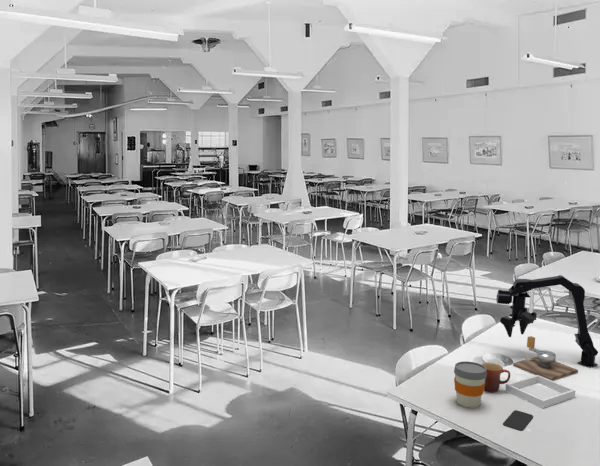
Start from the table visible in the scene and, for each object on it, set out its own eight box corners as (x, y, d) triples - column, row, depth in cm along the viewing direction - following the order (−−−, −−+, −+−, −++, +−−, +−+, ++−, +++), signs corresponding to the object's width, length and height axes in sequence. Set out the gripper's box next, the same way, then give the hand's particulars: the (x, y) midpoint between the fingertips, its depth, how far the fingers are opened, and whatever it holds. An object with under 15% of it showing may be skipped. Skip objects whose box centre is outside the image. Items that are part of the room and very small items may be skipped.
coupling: (522, 353, 263) (523, 337, 262) (533, 351, 267) (535, 335, 266) (547, 363, 251) (548, 347, 249) (559, 361, 254) (560, 344, 253)
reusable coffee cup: (480, 412, 212) (482, 376, 210) (448, 404, 219) (450, 368, 217) (487, 400, 223) (490, 365, 221) (457, 392, 229) (459, 358, 227)
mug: (479, 391, 231) (480, 368, 229) (479, 383, 239) (481, 361, 238) (509, 396, 227) (511, 373, 225) (508, 388, 235) (510, 365, 234)
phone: (501, 424, 203) (514, 409, 214) (501, 426, 203) (514, 411, 215) (522, 430, 198) (534, 415, 210) (522, 432, 198) (534, 417, 210)
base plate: (539, 358, 270) (540, 349, 270) (577, 372, 253) (578, 363, 252) (513, 365, 260) (513, 356, 259) (550, 381, 243) (551, 371, 242)
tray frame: (536, 381, 243) (537, 374, 242) (574, 397, 228) (575, 390, 227) (505, 390, 232) (505, 384, 232) (542, 408, 217) (543, 401, 216)
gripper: (520, 311, 256) (517, 343, 258) (545, 306, 265) (542, 337, 267) (500, 305, 265) (498, 336, 267) (525, 301, 274) (523, 331, 277)
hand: (516, 335), depth 269 cm, fingers open, 9 cm apart
